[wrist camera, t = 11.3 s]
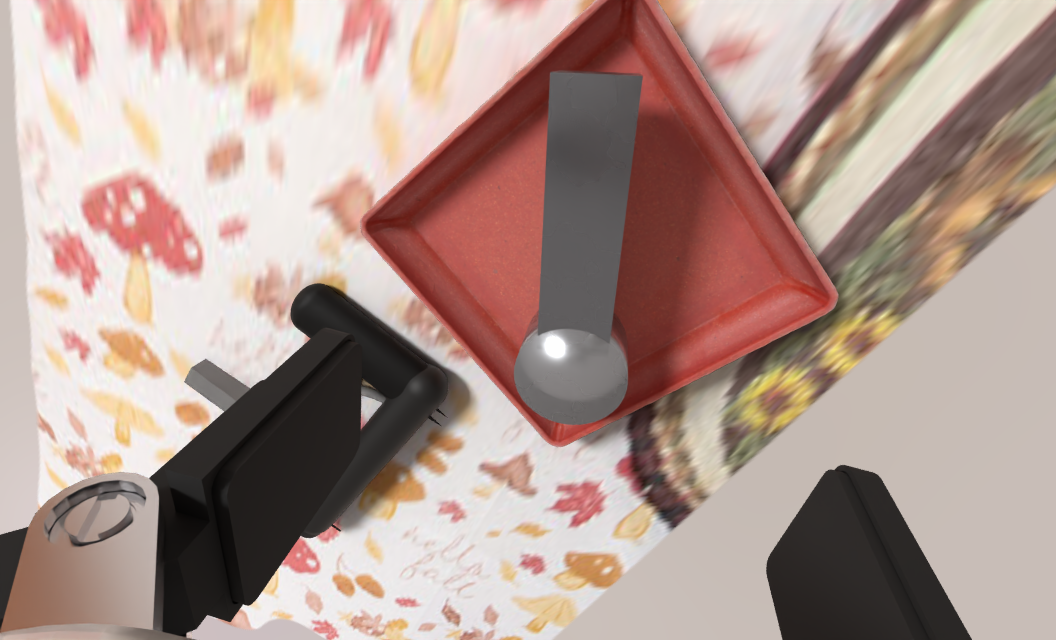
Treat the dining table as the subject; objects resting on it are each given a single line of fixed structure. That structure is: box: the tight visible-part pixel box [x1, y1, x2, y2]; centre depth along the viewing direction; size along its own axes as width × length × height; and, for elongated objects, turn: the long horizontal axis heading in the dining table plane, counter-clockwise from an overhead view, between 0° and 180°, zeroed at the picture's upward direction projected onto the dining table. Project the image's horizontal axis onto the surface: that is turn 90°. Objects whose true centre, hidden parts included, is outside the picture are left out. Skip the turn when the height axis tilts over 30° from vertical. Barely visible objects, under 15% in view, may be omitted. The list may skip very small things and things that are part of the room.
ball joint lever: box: [514, 70, 643, 425], centre depth 24 cm, size 16×6×4 cm, turn 178°
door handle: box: [184, 283, 448, 538], centre depth 36 cm, size 3×20×16 cm
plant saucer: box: [360, 0, 839, 447], centre depth 27 cm, size 18×18×3 cm
